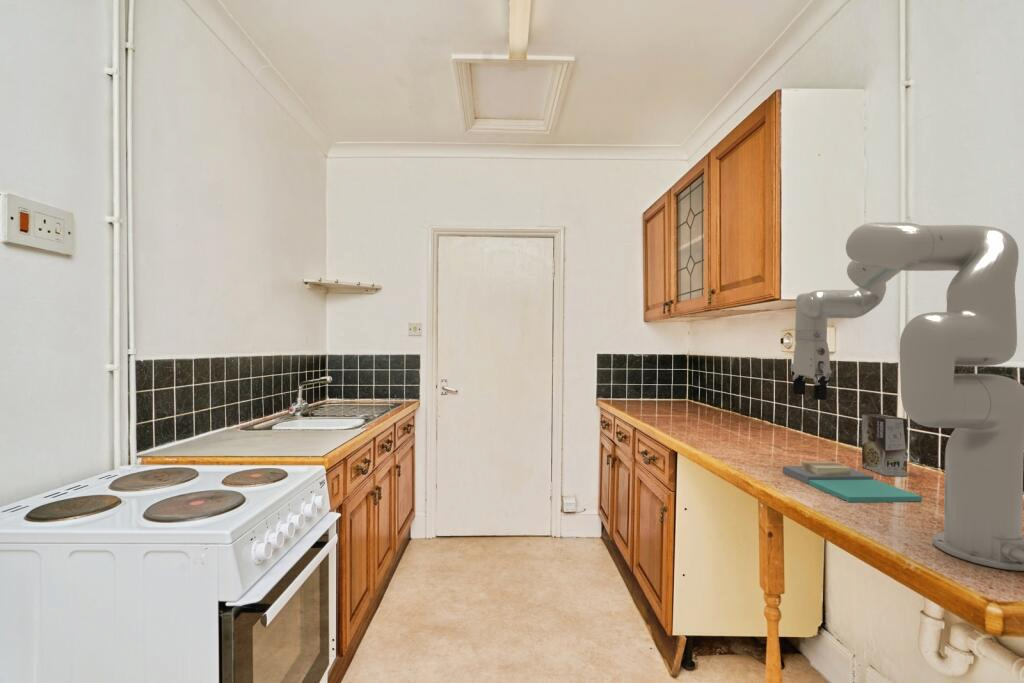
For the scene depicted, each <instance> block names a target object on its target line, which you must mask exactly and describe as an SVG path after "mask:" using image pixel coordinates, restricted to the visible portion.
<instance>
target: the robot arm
mask: <svg viewBox="0 0 1024 683" xmlns="http://www.w3.org/2000/svg"><path fill="white" fill-rule="evenodd" d="M845 251H846V255H847V257H848V258H849V259H850V260H851V261H850V262H849V263H848V265H847V267H846V274H847V276H848V279H849V281H851V283H853V284H854V285H855V286H857V288H855V289H819V290H813V291H811V292H803V293H800V294H798V295H797V297H796V299H795V322H794V323H795V324H794V325H795V327H794V333H795V334H794V342H795V345H794V350H793V363H791V364H790V370H791V373H790V374H791V376H792V378H791V379H792V382H793V383H792V394H793V395H796V396H797V395H804V396H805V394H806V380H805V379H806V378H812V379H813V382H814V383H815V384H813V393H812V394H813V395H812V398H813V400H815V401H826V400H827V396H828V395H827V394H828V393H827V392H828V391H827V389H828V386H829V381H830V380H831V375H832V373H833V371H832V369H831V360H830V358H831V357H830V349H829V344H828V342H827V340H828V339H827V338H828V319H857V318H859V317H863V316H864V315H866V314H868V313H869V312H871V311H872V310H874V309H875V308H876V307H877V306H879V305H880V304H881V303H882V301H883V300H884V297H885V295H886V291H887V282H889V281H890V280H891V279H893V277H895V276H897V275H898V274H900V272H902V271H907V272H908V271H909V272H912V271H913V272H915V271H916V272H920V271H922V272H924V271H925V272H926V271H928V272H929V271H930V272H931V271H938V272H939V271H940V272H941V271H957V273H956V274H955V275H954V277H952V279H951V281H950V283H949V285H948V287H947V290H946V311H944V312H943V311H939V312H938V311H935V312H932V311H931V312H926V313H922V314H919V315H917V316H915V317H913V318H911V320H909V321H908V322H907V324H906V325H905V326H904V328H903V329H902V330H903V331H902V333H901V336H900V338H899V372H900V373H899V378H900V382H899V383H900V398H901V404H902V408H903V410H904V412H905V414H906V416H908V419H910V420H911V421H913V422H915V424H917V425H920V426H923V427H927V428H938V429H954V430H953V431H952V433H951V434H950V436H949V438H948V440H947V442H946V446H945V451H944V514H943V515H944V516H943V517H944V518H943V519H944V520H943V521H944V522H943V524H944V527H943V528H944V529H943V530H944V531H943V532H936V533H935V534H933V535H932V543H933V545H934V546H935V547H936V548H938V549H939V550H941V551H943V552H945V553H947V554H948V555H951V556H954V557H956V558H958V559H960V560H964V561H967V562H970V563H974V564H977V565H982V566H986V567H990V568H995V569H1001V570H1007V571H1018V572H1020V571H1021V572H1024V537H1023V524H1024V522H1023V521H1024V520H1023V519H1024V518H1023V517H1024V515H1023V514H1024V513H1023V512H1024V506H1023V505H1024V501H1023V500H1024V498H1023V497H1024V384H1022V383H1021V382H1019V381H1018V380H1015V379H1013V378H1011V377H1007V376H1004V375H999V374H993V373H992V374H991V373H955V367H987V366H997V365H1002V364H1005V363H1007V362H1009V361H1010V360H1011V359H1012V358H1013V357H1014V356H1015V353H1016V351H1017V347H1018V333H1017V332H1018V331H1017V329H1018V326H1017V325H1018V322H1017V302H1016V278H1017V272H1018V266H1019V259H1020V258H1019V252H1020V251H1019V247H1018V244H1017V241H1016V240H1015V238H1014V237H1013V236H1012V235H1011V234H1010V233H1008V232H1007V231H1005V230H1003V229H1002V228H1001V229H1000V228H997V227H993V226H986V225H985V226H984V225H973V224H969V225H968V224H950V225H949V224H944V225H942V224H941V225H937V224H936V225H929V224H928V225H920V224H917V223H913V222H905V221H904V222H899V221H897V222H891V221H890V222H889V221H888V222H887V221H886V222H875V221H874V222H867V223H864V224H861V225H860V226H858V227H856V228H855V229H854V230H853V231H852V232H851V233H850V235H849V236H848V238H847V240H846V243H845Z"/></svg>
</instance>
